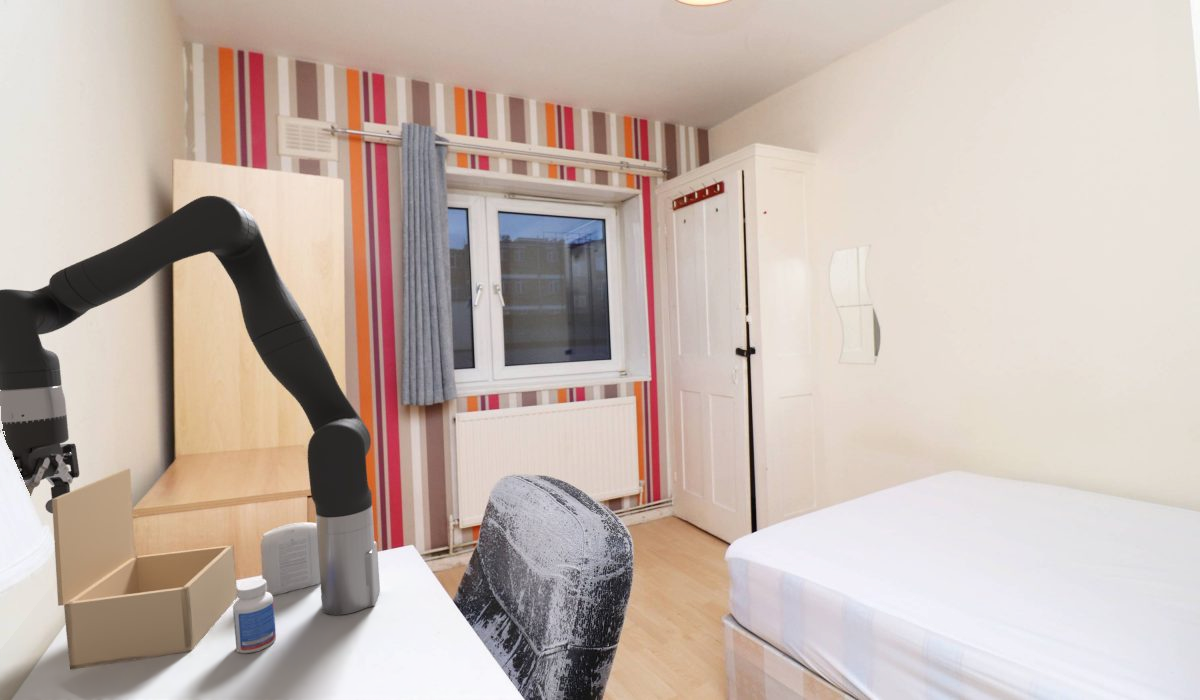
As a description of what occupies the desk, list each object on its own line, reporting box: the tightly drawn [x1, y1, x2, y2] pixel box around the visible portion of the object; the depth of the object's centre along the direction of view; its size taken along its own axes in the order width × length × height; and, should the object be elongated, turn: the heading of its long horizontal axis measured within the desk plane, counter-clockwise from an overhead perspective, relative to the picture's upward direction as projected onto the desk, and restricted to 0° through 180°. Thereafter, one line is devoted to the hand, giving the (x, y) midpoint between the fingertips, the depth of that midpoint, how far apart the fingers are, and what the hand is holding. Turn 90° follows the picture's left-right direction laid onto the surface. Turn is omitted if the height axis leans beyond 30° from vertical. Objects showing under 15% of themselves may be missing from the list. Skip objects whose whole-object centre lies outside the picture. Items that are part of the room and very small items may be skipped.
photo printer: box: [260, 521, 321, 596], centre depth 108 cm, size 10×4×12 cm, turn 123°
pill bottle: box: [232, 578, 277, 654], centre depth 88 cm, size 6×5×10 cm
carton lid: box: [44, 468, 136, 606], centre depth 91 cm, size 16×18×6 cm
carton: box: [63, 544, 238, 670], centre depth 94 cm, size 16×18×10 cm
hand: (43, 516), depth 90 cm, fingers open, 8 cm apart
